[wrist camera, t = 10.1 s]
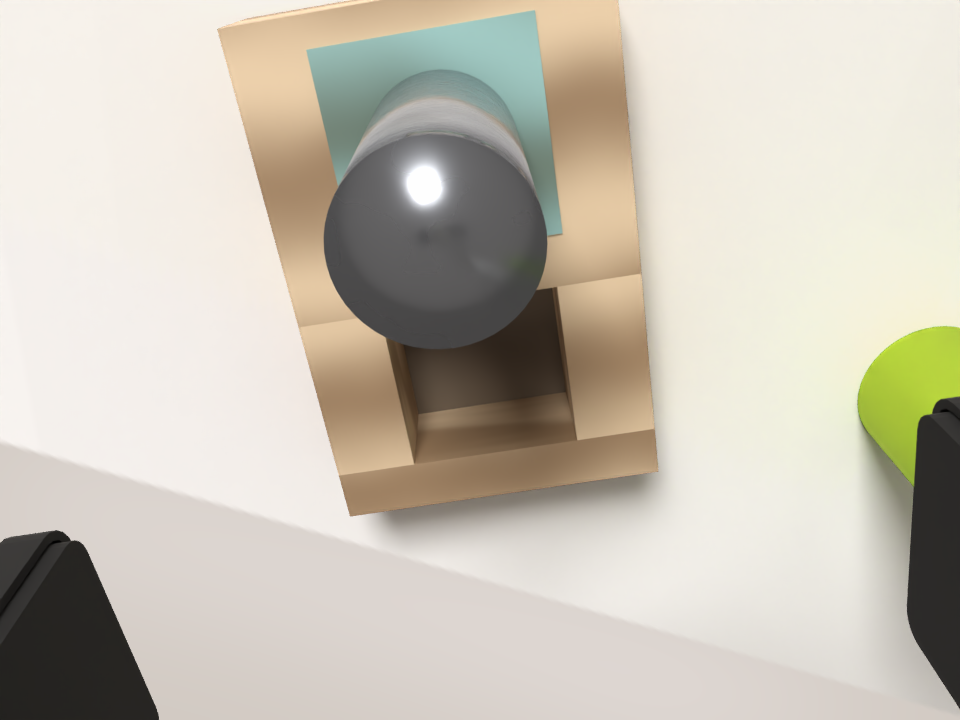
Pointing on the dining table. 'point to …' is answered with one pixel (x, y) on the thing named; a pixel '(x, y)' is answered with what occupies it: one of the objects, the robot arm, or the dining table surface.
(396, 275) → the grey cylinder
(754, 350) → the dining table surface
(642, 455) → the housing
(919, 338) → the soap dispenser
